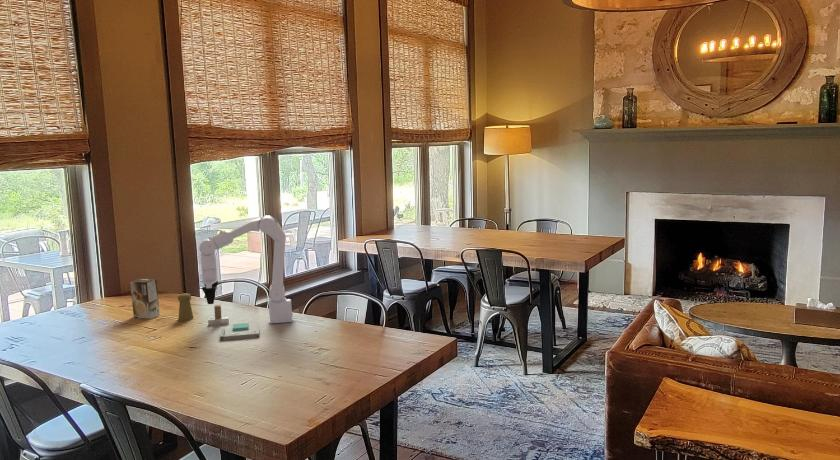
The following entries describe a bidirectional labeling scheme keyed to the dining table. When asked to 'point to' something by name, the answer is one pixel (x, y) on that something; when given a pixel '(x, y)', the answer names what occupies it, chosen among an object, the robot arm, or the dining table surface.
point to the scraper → (218, 317)
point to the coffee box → (145, 298)
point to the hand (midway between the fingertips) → (211, 301)
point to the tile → (241, 326)
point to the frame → (238, 335)
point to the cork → (185, 307)
